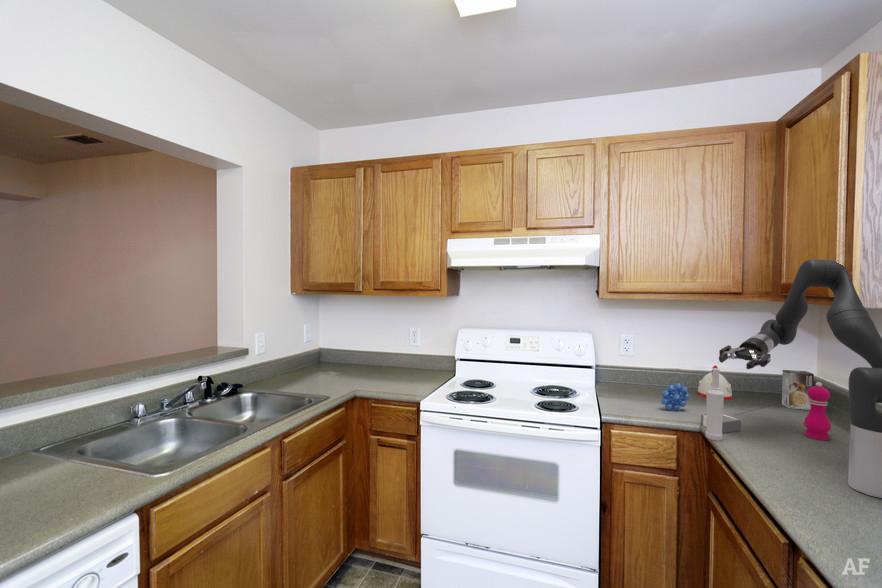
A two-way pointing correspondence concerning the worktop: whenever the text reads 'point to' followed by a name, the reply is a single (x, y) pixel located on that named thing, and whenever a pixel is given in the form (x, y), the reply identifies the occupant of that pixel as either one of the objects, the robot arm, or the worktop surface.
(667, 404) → the blue bumpy cluster
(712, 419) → the bottle
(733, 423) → the socket collar
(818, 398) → the pepper mill
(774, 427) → the worktop surface
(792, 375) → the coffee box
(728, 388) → the kitchen timer
